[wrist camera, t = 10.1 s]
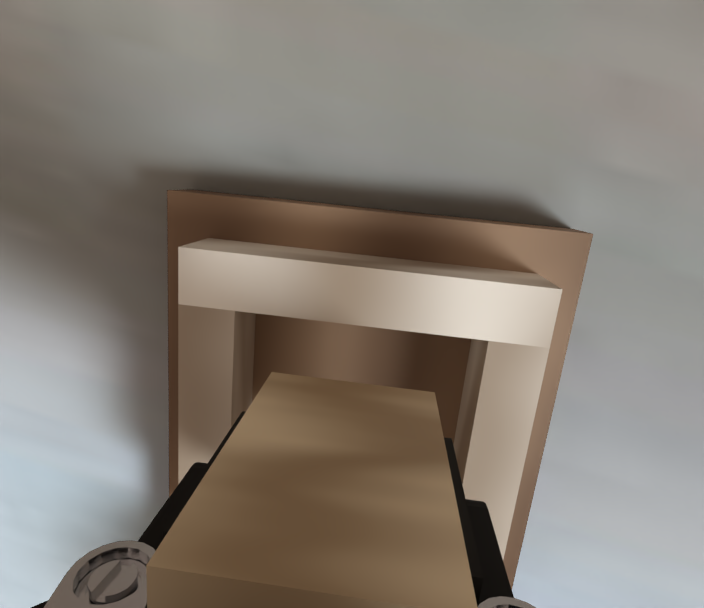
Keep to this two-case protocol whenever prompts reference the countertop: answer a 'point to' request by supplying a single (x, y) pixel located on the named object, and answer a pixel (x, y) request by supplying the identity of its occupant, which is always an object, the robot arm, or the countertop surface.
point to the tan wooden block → (321, 507)
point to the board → (374, 325)
